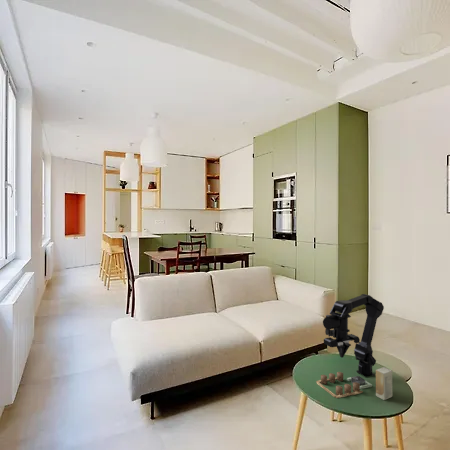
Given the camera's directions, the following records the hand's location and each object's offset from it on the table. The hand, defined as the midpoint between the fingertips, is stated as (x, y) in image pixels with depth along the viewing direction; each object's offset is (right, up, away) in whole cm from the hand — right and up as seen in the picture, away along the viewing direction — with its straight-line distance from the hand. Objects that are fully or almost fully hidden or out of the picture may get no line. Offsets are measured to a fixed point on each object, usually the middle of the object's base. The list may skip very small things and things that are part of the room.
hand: (341, 357), depth 151 cm
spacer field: (-3, -12, -6) cm, 14 cm away
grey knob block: (+7, -12, -3) cm, 14 cm away
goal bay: (+8, -12, -2) cm, 14 cm away
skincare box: (+14, -12, -14) cm, 23 cm away
